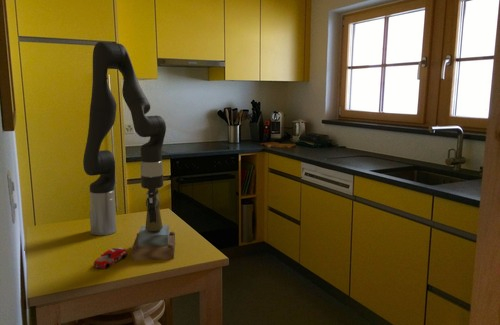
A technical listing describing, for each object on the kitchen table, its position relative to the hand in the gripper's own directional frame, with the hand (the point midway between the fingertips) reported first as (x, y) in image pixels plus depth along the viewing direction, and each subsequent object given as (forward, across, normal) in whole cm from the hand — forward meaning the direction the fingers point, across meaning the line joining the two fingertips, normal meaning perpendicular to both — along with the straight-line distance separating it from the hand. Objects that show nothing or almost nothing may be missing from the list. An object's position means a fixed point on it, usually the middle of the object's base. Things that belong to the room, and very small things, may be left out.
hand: (153, 220), depth 148 cm
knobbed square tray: (+12, 0, 0) cm, 12 cm away
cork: (+3, 0, 0) cm, 3 cm away
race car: (+12, +7, -14) cm, 20 cm away
